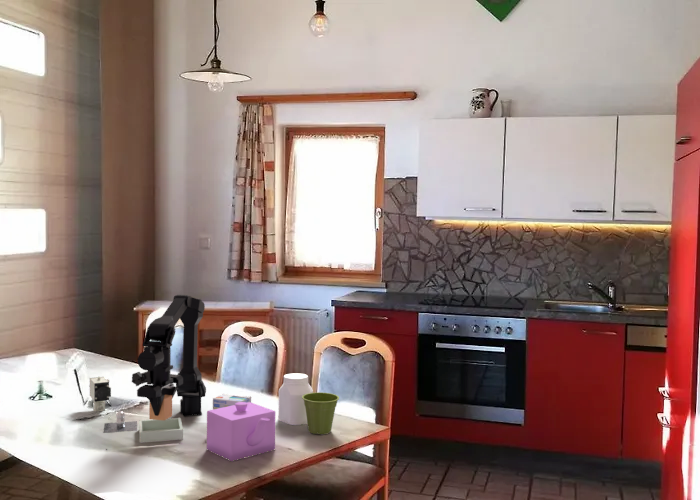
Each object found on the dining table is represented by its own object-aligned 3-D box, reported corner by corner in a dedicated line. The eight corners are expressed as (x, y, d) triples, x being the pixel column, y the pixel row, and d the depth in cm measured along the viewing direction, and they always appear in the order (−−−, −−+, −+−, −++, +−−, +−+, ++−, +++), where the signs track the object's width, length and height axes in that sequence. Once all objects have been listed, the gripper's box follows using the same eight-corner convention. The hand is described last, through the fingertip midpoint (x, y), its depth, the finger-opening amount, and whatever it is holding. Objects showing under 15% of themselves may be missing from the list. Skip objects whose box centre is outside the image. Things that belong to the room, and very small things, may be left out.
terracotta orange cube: (157, 414, 223) (157, 394, 223) (172, 415, 222) (172, 395, 222) (149, 419, 218) (149, 398, 218) (164, 420, 217) (164, 399, 217)
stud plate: (136, 422, 234) (136, 406, 234) (137, 432, 224) (137, 414, 224) (104, 425, 231) (104, 408, 231) (103, 434, 221) (103, 417, 221)
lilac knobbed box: (246, 469, 194) (246, 418, 194) (198, 445, 213) (198, 399, 212) (290, 456, 205) (290, 408, 204) (240, 435, 223) (241, 391, 222)
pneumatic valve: (95, 416, 240) (95, 381, 239) (89, 407, 250) (88, 374, 250) (112, 414, 243) (112, 379, 242) (105, 406, 253) (105, 372, 252)
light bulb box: (251, 429, 229) (252, 396, 229) (241, 435, 223) (242, 401, 222) (222, 425, 233) (222, 392, 232) (211, 431, 226) (211, 397, 226)
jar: (317, 421, 239) (318, 377, 238) (295, 426, 232) (295, 381, 232) (295, 413, 247) (296, 370, 247) (273, 419, 241) (274, 375, 240)
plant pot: (325, 439, 220) (325, 403, 219) (294, 433, 226) (294, 397, 225) (345, 430, 230) (346, 395, 229) (315, 423, 236) (315, 390, 236)
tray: (180, 428, 228) (180, 417, 228) (182, 441, 216) (183, 429, 216) (139, 431, 225) (139, 420, 225) (139, 444, 213) (139, 432, 212)
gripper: (152, 355, 230) (152, 403, 231) (120, 367, 212) (121, 419, 213) (183, 357, 228) (183, 405, 229) (155, 370, 210) (155, 422, 210)
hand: (160, 413), depth 220 cm, fingers closed on terracotta orange cube, 5 cm apart
